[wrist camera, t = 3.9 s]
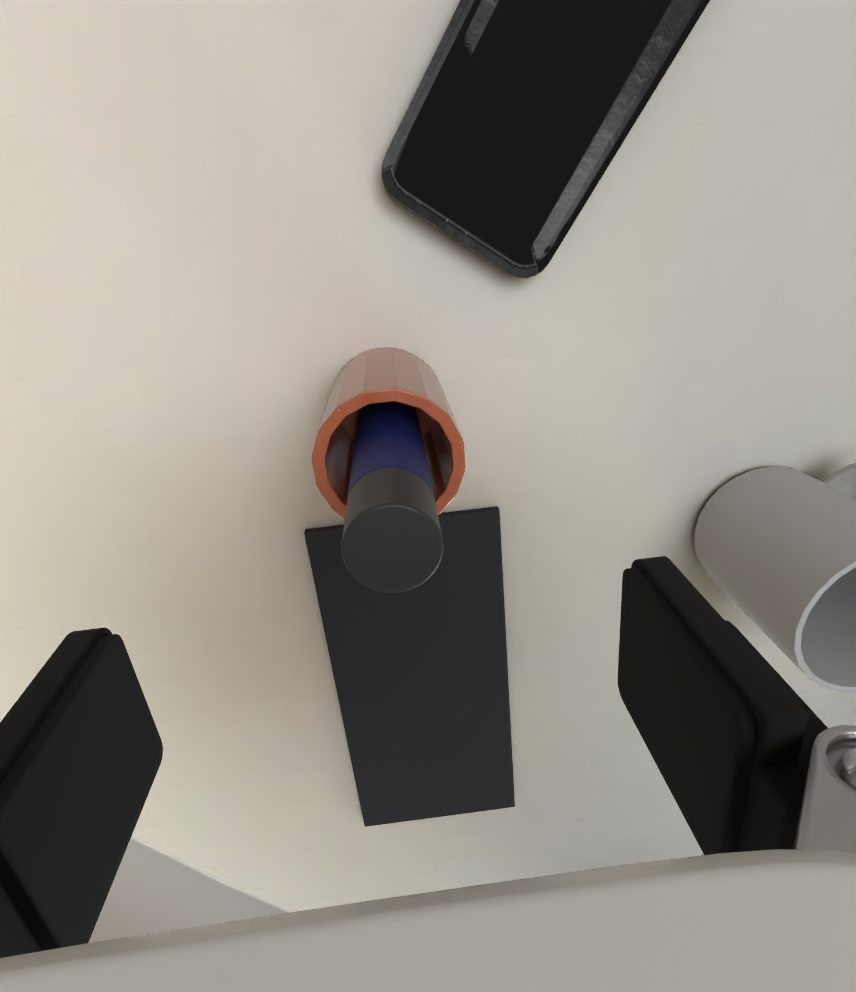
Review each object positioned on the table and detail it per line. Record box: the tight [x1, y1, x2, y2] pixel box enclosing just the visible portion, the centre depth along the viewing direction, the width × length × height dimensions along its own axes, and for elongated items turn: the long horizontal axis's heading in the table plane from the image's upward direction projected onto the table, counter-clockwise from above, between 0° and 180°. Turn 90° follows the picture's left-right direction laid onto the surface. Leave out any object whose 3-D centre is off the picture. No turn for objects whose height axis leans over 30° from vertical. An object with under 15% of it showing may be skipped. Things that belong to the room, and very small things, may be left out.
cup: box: [694, 463, 856, 692], centre depth 28 cm, size 7×10×9 cm
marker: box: [341, 401, 443, 593], centre depth 21 cm, size 3×3×14 cm
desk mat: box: [305, 507, 515, 826], centre depth 35 cm, size 10×22×1 cm, turn 6°
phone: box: [382, 0, 710, 278], centre depth 22 cm, size 8×1×15 cm
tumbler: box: [312, 348, 465, 518], centre depth 24 cm, size 5×5×8 cm
